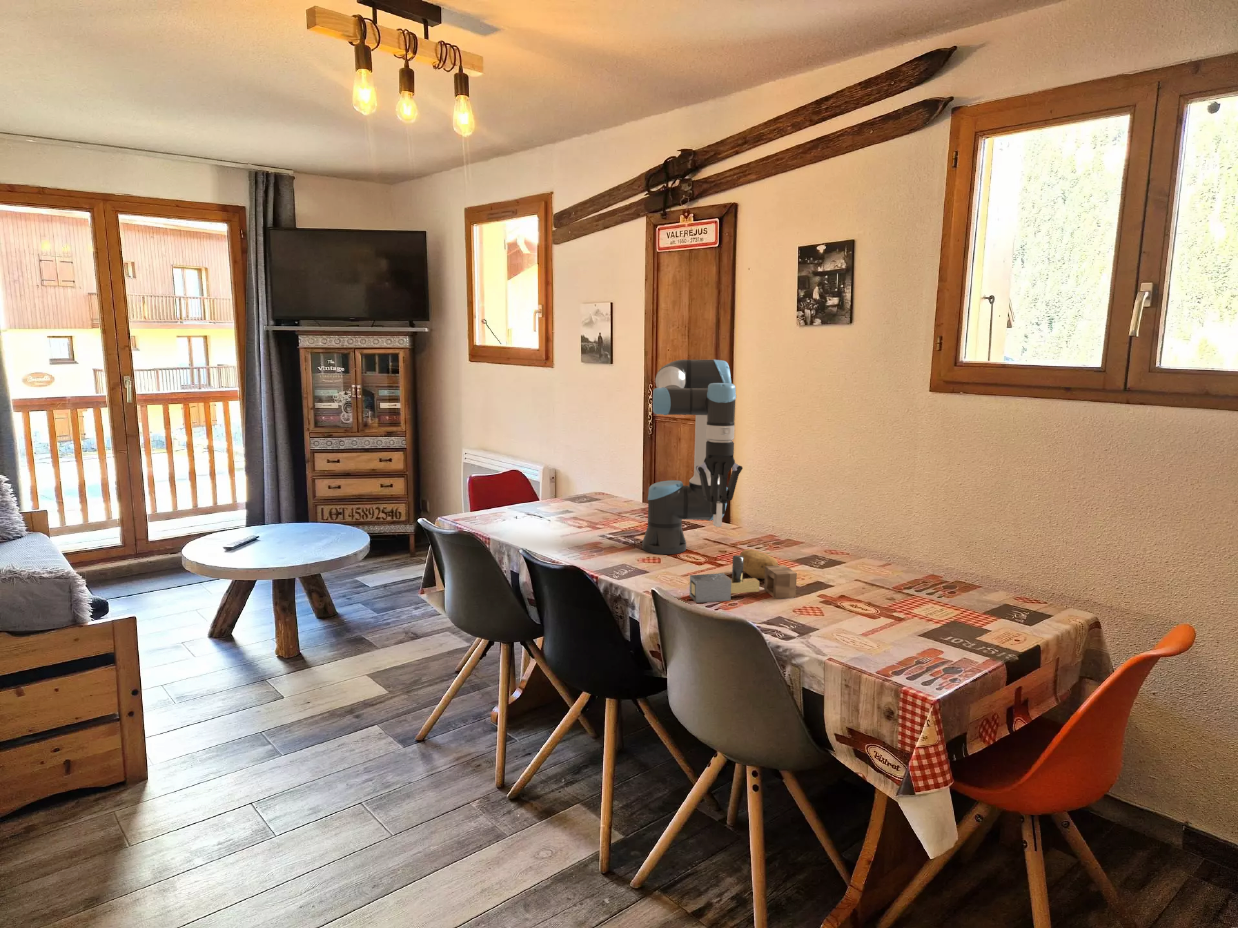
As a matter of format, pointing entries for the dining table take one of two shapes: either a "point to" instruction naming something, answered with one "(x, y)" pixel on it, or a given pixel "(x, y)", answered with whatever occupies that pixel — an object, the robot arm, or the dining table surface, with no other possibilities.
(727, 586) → the sleeve
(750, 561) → the potato
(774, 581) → the socket
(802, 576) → the dining table surface
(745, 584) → the sliding bolt
